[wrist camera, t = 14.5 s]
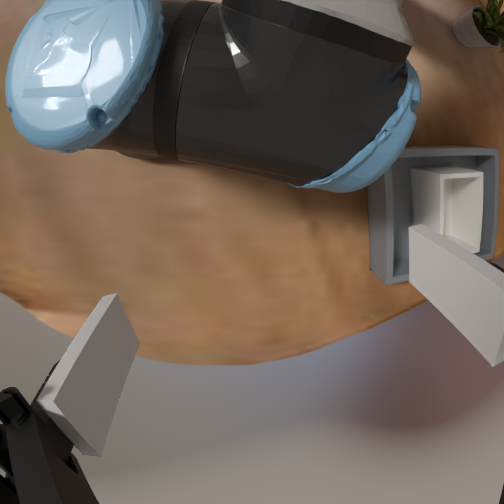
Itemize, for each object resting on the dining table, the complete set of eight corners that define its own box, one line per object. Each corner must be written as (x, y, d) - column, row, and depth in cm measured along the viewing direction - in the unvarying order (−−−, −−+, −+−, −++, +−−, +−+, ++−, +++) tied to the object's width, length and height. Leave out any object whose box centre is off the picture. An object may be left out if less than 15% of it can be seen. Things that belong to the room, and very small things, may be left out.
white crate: (410, 167, 37) (439, 174, 30) (452, 165, 37) (483, 172, 30) (411, 244, 40) (437, 262, 34) (451, 236, 40) (479, 251, 34)
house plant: (502, 43, 30) (566, 34, 15) (485, 92, 34) (559, 91, 18) (449, -14, 27) (509, -42, 12) (426, 30, 30) (498, 2, 15)
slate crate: (363, 148, 37) (382, 150, 31) (475, 145, 37) (498, 148, 32) (369, 269, 42) (385, 285, 37) (473, 246, 43) (493, 257, 37)
